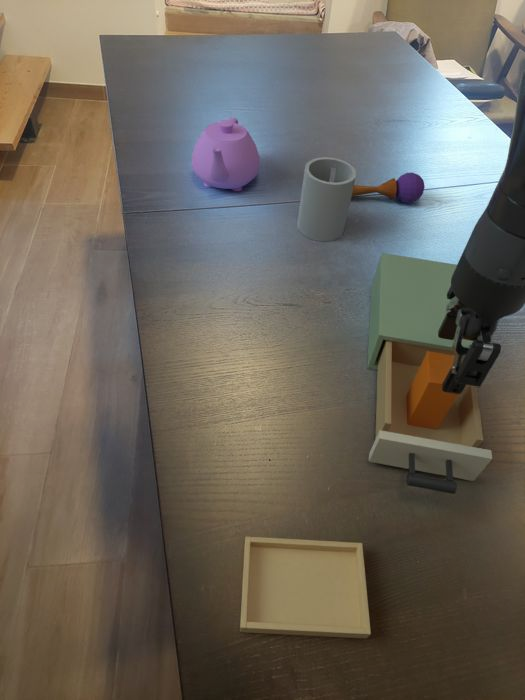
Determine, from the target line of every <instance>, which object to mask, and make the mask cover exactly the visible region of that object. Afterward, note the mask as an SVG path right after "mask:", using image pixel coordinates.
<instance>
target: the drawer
mask: <svg viewBox="0 0 525 700" xmlns="http://www.w3.org/2000/svg"><path fill="white" fill-rule="evenodd" d="M427 351H430V352H436V353H442V354H447V355H453V356H455V351H449V350H443V349H437V348H431V347H425V346H419V345H413V344H407V343H401V342H395V341H390V340H385V341H384V344H383V346H382V349H381V352H380V355H379V357H378V370H377V375H376V379H377V380H376V410H375V438H374V439H375V440H374V442H373V444H372V447H371V449H370V450H369V453H368V462H369V463H373V464H381V465H385V466H390V467H396V468H402V469H406V470H408V473H407V474H406V480H405V482H406V485H407V486H410V487H413V488H414V487H415V488H419V489H420V488H421V489H425V490H431V491H436V492H440V493H441V492H442V493H446V494H447V493H448V494H453V495H455V494H456V493H457V489H458V485H457V482H456V481H455V480H454V478H456V479H461V480H467V481H471V482H475V481H476V479H477V478H478V477H479V476H480V474H482V472H483V471H484V470H485V469H486V467H487V466H488V465H489V464H490V463H491V461H492V460H493V453H492V450H491V449H487V448H481V447H480V446H481V444H482V443H483V442H484V433H483V427H482V426H483V425H482V420H481V419H482V418H481V411H480V404H479V396H478V389H477V386H471V385H466V386H465V388H464V389H463V391H462V393H460V394H458V396H457V398H456V399H455V401H454V403H453V404H452V406H451V408H450V409H449V411H448V413H447V414H446V416H445V417H444V419H443V421H442V422H441V424H440V426H439V427H438V429H437V430H435V429H429V428H424V427H418V426H413V425H407V393H408V391H409V389H410V387H411V385H412V383H413V381H414V378H415V376H416V374H417V372H418V370H419V368H420V366H421V364H422V362H423V360H424V357H425V355H426V353H427ZM465 356H466V354H465V355H463V357H462V361H463V360H464V358H465ZM462 361H461V363H462ZM416 471H419V472H424V473H428V474H434V475H440V476H445V477H446V479H443V478H439V477H438V478H436V477H432V476H426V475H421V474H416Z"/></svg>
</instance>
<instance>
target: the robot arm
mask: <svg viewBox="0 0 525 700" xmlns="http://www.w3.org/2000/svg"><path fill="white" fill-rule="evenodd" d="M517 90H518V91H517V97H516V98H517V99H516V106H515V114H514V120H513V127H512V131H511V137H510V141H509V147H508V153H507V158H506V163H505V166H504V169H503V172H502V173H501V175H500V178H499V179H498V182H497V184H496V186H495V188H494V190H493V193H492V195H491V197H490V199H489V201H488V203H487V206H486V207H485V209H484V211H483V212H482V214H481V215H480V217H479V218H478V220H477V221H476V224H475V225H474V227H473V230H472V232H471V234H470V235H469V238H468V240H467V243H466V245H465V246H464V249H463V251H462V253H461V256H460V257H459V258H460V259H459V260H458V262H457V264H456V265H457V266H456V269H455V271H454V273H453V275H452V278H451V287H450V289H449V291H448V292H447V299H450V303H448V305H447V306H446V313H447V314H446V316H445V318H444V320H443V322H442V324H441V326H440V328H439V330H438V337H439V338H442V339H448V340H454V341H453V345H452V349H453V350H454V351H455V357H454V361H453V365H452V367H451V369H450V371H449V373H448V374H447V376H446V378H445V380H444V382H443V383H442V390H443V391H444V392H448V393H454V394H460V393H462V391H463V389H464V388H465V386H466V385H471V386H476V387H478V388H480V387H481V386H482V384H483V383H484V381H485V379H486V378H487V376H488V375H489V372H490V371H491V369H492V368H493V366H494V365H495V362H496V361H497V359H498V358H499V355H500V354H501V352H502V345H501V344H500V343H498V342H497V343H496V342H493V341H492V338H493V334H494V333H496V331H497V329H498V324H499V320H502V319H503V318H506V317H508V316H512V315H514V314H515V313H517V312H520V310H521V309H522V308H523V307H524V306H525V67H524V68H523V71H522V74H521V78H520V81H519V86H518V89H517ZM462 339H464V340H470V341H473V342H472V344H471V345H469V346H463V345H462ZM465 354H466V356H465V358H464V360H463V361H462V357H463V355H465ZM461 361H462V363H461Z"/></svg>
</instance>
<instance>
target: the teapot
mask: <svg viewBox="0 0 525 700" xmlns="http://www.w3.org/2000/svg"><path fill="white" fill-rule="evenodd" d="M191 169H192V171H193V173H194V175H196V177H197V178H198V179H199V180H201V182H203V186H204V187H206V188H217V189H230V190H232V191H234V192H241V191H243V187H245V186H246V185H247V184H249V183H250V182H251V181H252V180H253V179H255V178H256V176H257V175H258V174H259V171H260V169H261V159H260V154H259V150H258V147H257V145H256V143H255V141H254V140H253V138H252V136H251V134H250V133H249V131H248V130H247V129H246V127H244V126H243V125H242V124H239V121H238V119H237V118H235V117H229V118H228V119H222V120H219V121H216V122H212V123H211V124H208V125H207V126H206V127H205V128H204V130H203V131H202V132H201V134H200V136H199V137H198V139H197V141H196V142H195V144H194V147H193V150H192V154H191Z"/></svg>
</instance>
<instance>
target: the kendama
mask: <svg viewBox="0 0 525 700" xmlns="http://www.w3.org/2000/svg"><path fill="white" fill-rule="evenodd" d="M424 191H425V181H424V179H423V178H422V177H421V175H419V174H417V173H415V172H406V173H403V174H402V175H401V174H400V176H399V177H398V178H397V179H396V178H395V177H393V178H391V179H389V180H387V181H385V182H383V183H381V184H379V185H378V186H371V185H357V184H354V187H353V192H352V196H351V197H356V196H363V195H369V194H375V193H377V194H379V195H382V196H383V197H387V198H389V199H391V200H394V199H395V198H397V199H398V200H399V201H400V202H402V203H404V204H411V203H414V202H416V201H418V200H419V199H420V198H421V197H423V195H424Z"/></svg>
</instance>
